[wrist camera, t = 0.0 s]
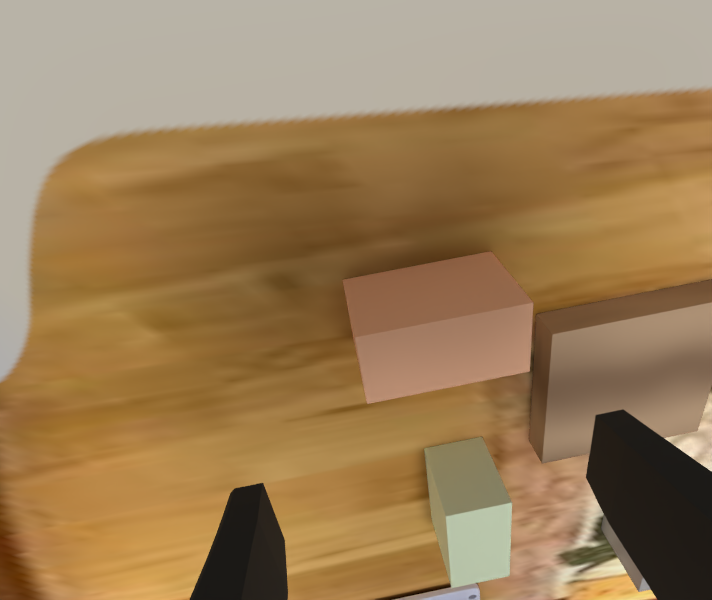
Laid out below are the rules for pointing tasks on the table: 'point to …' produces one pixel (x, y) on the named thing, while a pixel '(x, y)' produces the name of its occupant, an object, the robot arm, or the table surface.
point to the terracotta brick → (438, 326)
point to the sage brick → (469, 511)
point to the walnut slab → (621, 366)
